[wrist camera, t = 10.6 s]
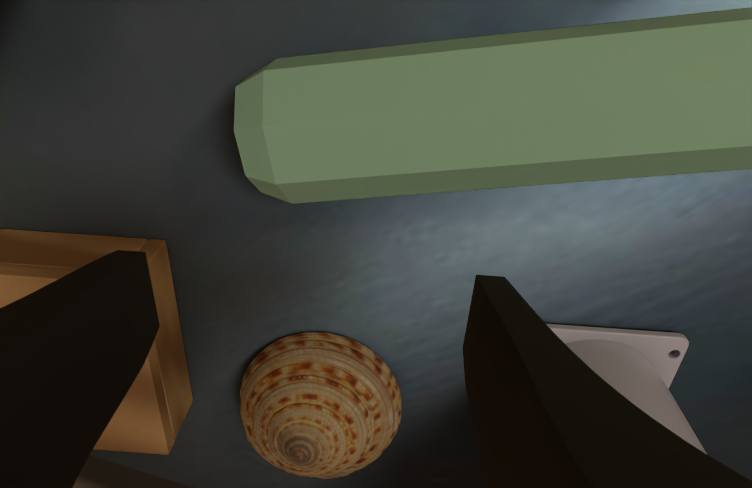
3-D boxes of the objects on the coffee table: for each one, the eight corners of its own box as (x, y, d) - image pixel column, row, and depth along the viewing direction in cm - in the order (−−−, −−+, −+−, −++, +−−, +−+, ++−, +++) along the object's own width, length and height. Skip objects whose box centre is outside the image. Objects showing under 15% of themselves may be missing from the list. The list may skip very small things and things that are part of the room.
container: (217, 228, 16) (1164, 160, 13) (192, 26, 15) (1193, -90, 12) (273, 212, 22) (939, 163, 19) (258, 66, 21) (949, -7, 18)
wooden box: (193, 400, 28) (168, 455, 25) (46, 389, 28) (3, 443, 25) (166, 239, 23) (131, 284, 20) (-13, 226, 23) (-75, 269, 20)
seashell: (246, 489, 28) (206, 446, 22) (264, 388, 32) (235, 326, 25) (398, 497, 28) (403, 456, 22) (400, 394, 31) (405, 333, 25)
